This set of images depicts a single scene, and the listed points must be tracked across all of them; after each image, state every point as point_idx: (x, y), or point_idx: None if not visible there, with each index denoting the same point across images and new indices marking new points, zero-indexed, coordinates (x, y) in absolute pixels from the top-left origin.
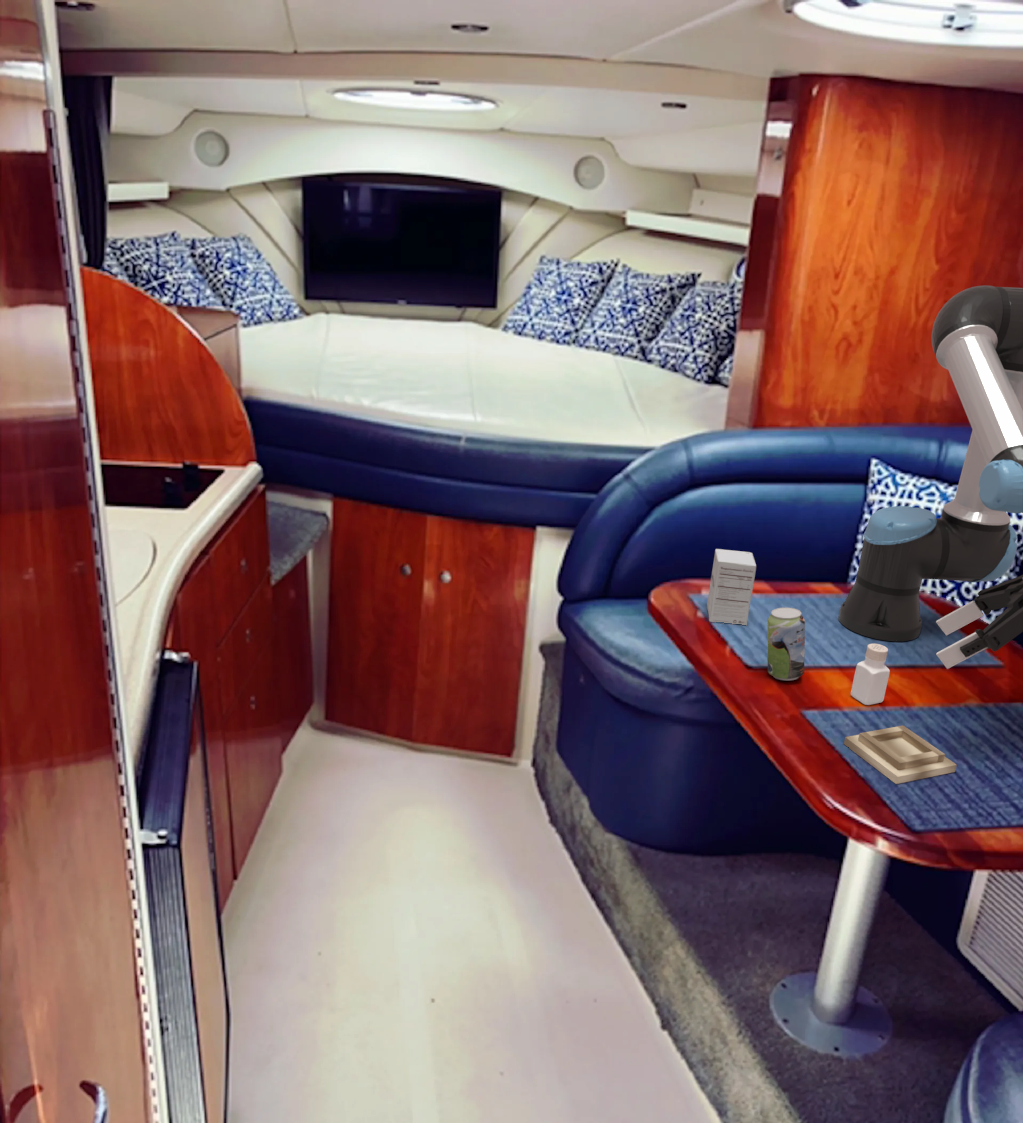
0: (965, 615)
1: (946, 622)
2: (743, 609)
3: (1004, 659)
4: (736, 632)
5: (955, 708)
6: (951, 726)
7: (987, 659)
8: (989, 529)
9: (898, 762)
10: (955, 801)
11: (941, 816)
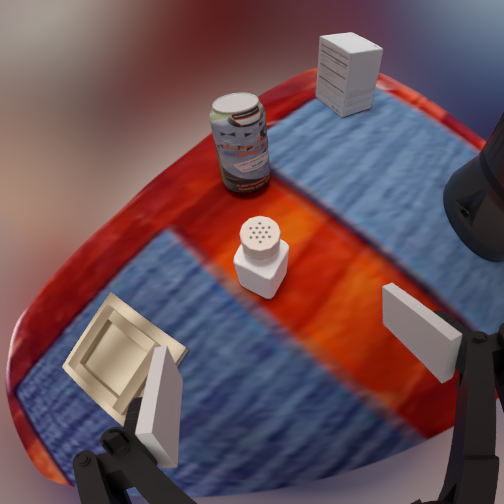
0: (422, 339)
1: (393, 307)
2: (339, 98)
3: None
4: (317, 116)
5: (342, 390)
6: (272, 405)
7: None
8: None
9: (69, 362)
10: (74, 432)
11: (44, 417)
